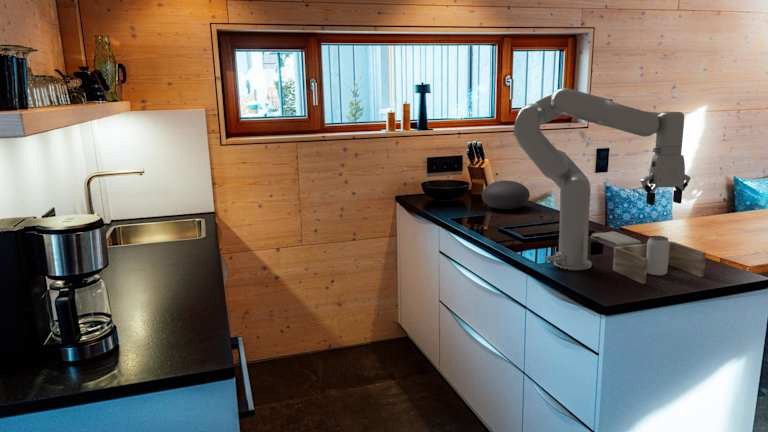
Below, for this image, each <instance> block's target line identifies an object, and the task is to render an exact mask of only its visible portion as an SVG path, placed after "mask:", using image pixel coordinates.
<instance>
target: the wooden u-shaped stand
mask: <svg viewBox="0 0 768 432" xmlns="http://www.w3.org/2000/svg"><path fill="white" fill-rule="evenodd" d="M668 241H669V256H668V266H671V267H674V268H677V269H679V270H682V271H684V272H686V273H689V274H691V275H694V276H697V277H698V278H699V277H700V278H703V277H705V268H706V256H707V252H705V251H702V250H698V249H697V248H693V247H690V246H687V245H684V244H681V243H678V242H676V241H672V240H668ZM646 255H647V243H642V244H640V245H630V246H620V247H614V248H613V259H612V260H613V261H612V270H613V272H615V273H618V274H621V275H623V276H625V277H627V278H629V279H631V280H633V281H635V282H637V283H640V284H641V285H644V284H645V285H646V284H647V274H648V273H647V261H648V259H646Z"/></svg>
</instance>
